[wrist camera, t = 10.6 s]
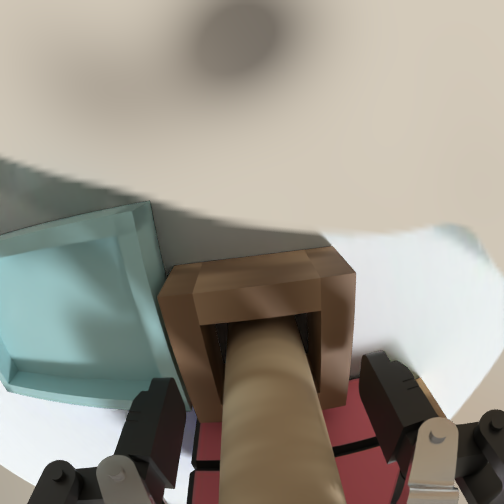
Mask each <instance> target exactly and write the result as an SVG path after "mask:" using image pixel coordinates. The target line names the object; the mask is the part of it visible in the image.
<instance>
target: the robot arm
mask: <svg viewBox="0 0 504 504" xmlns="http://www.w3.org/2000/svg"><path fill="white" fill-rule="evenodd" d="M359 394H360V398H361V401H362V403H363V405H364V408H365V410H366V413H367V415H368V417H369V420H370V422H371V425H372V427H373V430H374V432H375V435H376V437H377V440H378V442H379V445H380V447H381V450H382V452H383V455H384V457H385V460H386V463H387V464H390V463H393V462H396V461H397V463H398V465H399V470H398V472H397V476H396V480H395V483H394V487H393V490H392V493H391V497H390V500H389V503H388V504H458V500H459V490H458V488H455V487H454V479H455V481H456V483H457V484H458V486H459V488H460V490H461V491H462V493H463V495H464V496H465V498H466V500H467V502H468V504H504V411H502V410H490V411H488V412H486V413H485V414H484V415H483V416H482V417H481V419H480V421H479V422H474V423H468V424H460V425H455V424H454V423H453V422H452V421H451V420H449V419H447V418H442V417H439V416H438V415H437V413H436V411H435V410H434V408H433V407H432V405H431V403H430V402H429V400H428V399H427V397H426V395H425V394H424V392H423V391H422V389H421V387H419V384H418V383H417V381H416V380H415V379H414V377H413V375H412V373H411V372H410V370H409V369H408V368H407V367H406V366H405V365H403V364H402V363H400V362H399V361H394V362H390V360H389V358H388V357H387V355H386V354H385V352H384V351H378V352H374V353H369V354H365V355H363V357H362V362H361V370H360V377H359ZM185 422H186V408H185V404H184V402H183V399H182V397H181V394H180V391H179V389H178V386H177V384H176V381H175V379H174V378H173V377H164V378H153V379H152V380H151V383H150V386H149V389H148V391H141V392H140V393H139V394H138V395H137V396H136V397H135V399H134V400H133V401H132V404H131V407H130V410H129V413H128V415H127V418H126V422H125V424H124V426H123V429H122V432H121V435H120V438H119V441H118V444H117V447H116V450H115V453H114V455H112V456H109V457H107V458H105V459H104V460H102V461H101V462H100V464H99V465H98V467H92V468H81V469H75V468H74V467H73V466H72V465H71V464H70V463H68V462H67V461H63V460H56V461H53V462H51V463H49V464H48V465H47V466H46V467H45V469H44V471H43V473H42V475H41V477H40V479H39V481H38V483H37V485H36V487H35V489H34V491H33V493H32V495H31V497H30V499H29V502H28V503H27V504H167V502H166V500H165V499H164V497H163V495H164V489H165V488H170V489H175V484H176V477H177V471H178V464H179V458H180V452H181V446H182V440H183V434H184V428H185Z"/></svg>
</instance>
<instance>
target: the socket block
mask: <svg viewBox="0 0 504 504" xmlns="http://www.w3.org/2000/svg"><path fill="white" fill-rule="evenodd" d="M355 290H356V272H355V271H354V270H353V269H352V268H351V266H350V265H349V264H348V263H347V262H346V261H345V260H344V258H343V257H342V256H341V255H340V254H339V253H338V252H337V251H336V249H335V248H334V247H333V246H329V247H321V248H313V249H305V250H297V251H289V252H281V253H273V254H265V255H257V256H248V257H240V258H232V259H224V260H216V261H207V262H199V263H191V264H183V265H174V267H173V269H172V270H171V272H170V274H169V276H168V278H167V279H166V281H165V283H164V285H163V287H162V289H161V291H160V292H159V294H158V296H157V299H158V302H159V306H160V309H161V313H162V316H163V320H164V323H165V326H166V330H167V333H168V336H169V339H170V342H171V346H172V349H173V352H174V355H175V358H176V361H177V364H178V367H179V370H180V372H181V375H182V378H183V381H184V384H185V386H186V389H187V392H188V395H189V397H190V400H191V402H192V405H193V408H194V410H195V413H196V415H197V418H198V420H199V423H212V422H222V415H223V397H224V380H225V364H226V363H224V361H223V357H222V353H221V348H220V344H219V339H218V335H217V330H216V326H215V324H218V323H228V322H238V321H247V320H255V319H264V318H272V317H279V316H287V315H294V314H301V313H307V325H308V353H306V357H307V360H308V364H309V367H310V371H311V374H312V378H313V381H314V385H315V388H316V392H317V395H318V399H319V402H320V406H321V409H322V410H326V409H331V408H336V407H341V406H345V405H346V400H347V392H348V384H349V375H350V366H351V355H352V343H353V330H354V313H355Z"/></svg>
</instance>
